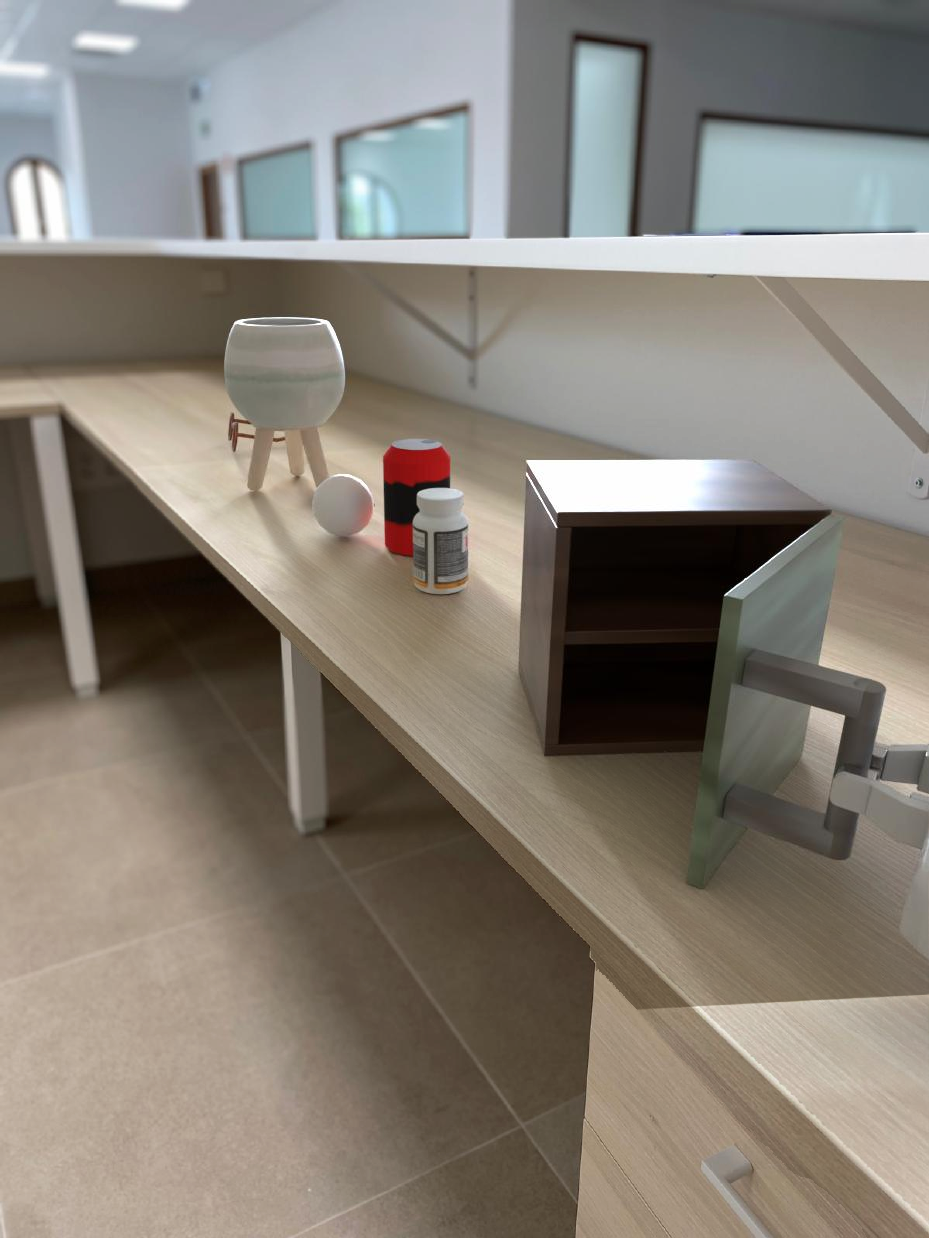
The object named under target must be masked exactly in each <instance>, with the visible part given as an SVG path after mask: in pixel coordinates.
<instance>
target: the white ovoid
mask: <svg viewBox="0 0 929 1238" xmlns="http://www.w3.org/2000/svg"><path fill="white" fill-rule="evenodd" d="M329 477H330V478H328V479H326V480H324V481H323V482H322V483H321V484H320V485H319V486H318V488H317V487H316V489H315V492H314V494H313V495H312V503H311V508H312V513H313V517H314V519H315V520H316V522H317V523H318V525H319V526H320V527H321V528H322V529H323V530H324V531H325V532H327V533H329V534H331V535H334V536H336V537H337V536H338V537H350V536H351V537H352V536H353V535H356V534H359V533H360V532H361V531H363V530H364V529H365V528H367V526H368V525H369V523H370V522H371V520H372V517H373V515H374V508H375V507H376V504H375V502H374V497H373V494H372V493H371V490H370V488H369V487H368V486H367V484H365V483H364V482H363V481H362V480H361V479H360V478H358V477H356V476H353V475H350V474H346V473H345V474H334V475H332V476H329Z"/></svg>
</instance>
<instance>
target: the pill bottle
mask: <svg viewBox="0 0 929 1238" xmlns="http://www.w3.org/2000/svg"><path fill="white" fill-rule="evenodd" d="M464 505H465V496H464V493H463V492H462V491H461V490H459V489H455V488H451V487H450V488H430V489H425V490H422V491H419V492H418V493H417V506H418V508H419V509H420V512H419V513H417V514H416V515H415V517H414V519H413V556H412V562H413V563H412V569H413V570H412V575H413V576H412V578H413V584H414V586H415V588H416V589H417V590H419V591H421V592H422V593H423V592H424V593H427V594H432V595H450V594H454V593H455V594H456V593H459V592H461V591H463V590H464V589H465V588H466V587H467V586H468V584H469V520H468V517H467V516H466V514H464V512H462V509H463V507H464Z"/></svg>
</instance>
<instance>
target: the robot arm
mask: <svg viewBox="0 0 929 1238" xmlns="http://www.w3.org/2000/svg"><path fill="white" fill-rule="evenodd" d="M832 779H833V778H832ZM885 782H891V783H898V784H899V783H900V784H908V785H916V790H917V791H918V792H915V791H912V792H911V794H910V796H908V795H906V794H904V793H902V792H900V791H899V790H896V789H895V788H893V787H891V786H889V785H888V784H885ZM831 784H832V787H831V786H830V789H831V791H830V790H829V794H830V796H829V795H828V799H829V798H830V801H831V802H832V804H834V805H835V806H838V807H841V808H844V809H847V810H850V811H853V812H856V813H859V815H862V816H864V818H865V819H867V820H868V821H869V822H871V823H872V824H873V825H875V826H876V827H877V828H879V829H880V830H881V831H883V832H884V833H885V834H887V836H890V837H891V838H892V840H894V841H896V842H897V843H900V844H904V845H906V846H910V847H912V848H916V849H918V850H920V853H919V856H918V859H917V862H916V865H915V869H914V871H913V876H912V878H911V882H910V885H909V889H908V892H907V895H906V899H905V902H904V906H903V910H902V915H901V918H900V922H899V926H898V927H899V928H898V929H899V932H900V935H901V936H902V937H903V939H904V940H905V941H906V942H907V943H909V944H910V945H911V946H912V947H913V948H914V949H915V950H916V951H917V952H918V953H919V954H920V955H922V956H923V957H924V958H926V959H927V960H929V743H927V744H925V743H923V744H917V743H915V744H890V745H888V744H885V743H882V742H878V741H875V745H874V749H873V754H872V759H871V763H870V768H869V769H867V768H858V767H857V766H855V765H852V764H849V763H848V764H847V763H846V764H843V765H841V766H840V768H839V769H838V771H837V773H836V775H835V777H834V779H833V782H832V781H831ZM919 792H920V793H919ZM922 793H924V794H922ZM925 794H927V795H925Z"/></svg>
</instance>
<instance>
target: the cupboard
mask: <svg viewBox="0 0 929 1238" xmlns="http://www.w3.org/2000/svg"><path fill="white" fill-rule="evenodd" d="M525 473H526V474H525V493H524V494H525V497H524V519H523V520H524V521H523V542H522V544H523V545H522V567H521V568H522V569H521V589H520V590H521V593H520V617H519V643H518V668H517V670H518V674H519V677H520V680H521V683H522V687H523V690H524V695H525V697H526V701H527V704H528V707H529V711H530V714H531V717H532V721H533V725H534V727H535V728H534V729H535V731H536V735H537V738H538V741H539V745H540V747H541V752H542V755H543V757H570V756H572V757H573V756H574V757H575V756H604V755H605V756H606V755H607V756H609V755H640V754H641V755H643V754H673V753H675V754H676V753H703V750H704V742H705V734H706V727H707V719H708V712H709V704H710V697H711V689H712V682H713V674H714V667H715V659H716V652H717V644H718V637H719V629H720V621H721V614H722V606H723V599H724V595H725V594H727V593H728V592H729V591H731V590H732V589H733V588H735V587H736V586H737V585H738V584H740V583H741V582H742V581H744V580H745V579H746V578H748V577H749V576H750V575H751V574H753V573H754V572H755V571H757V570H758V569H759V568H761V567H762V566H763V565H764V564H766V563H767V562H768V561H770V560H771V559H772V558H774V557H775V556H776V555H777V554H779V553H780V552H781V551H783V550H784V549H785V548H787V547H788V546H789V545H790V544H792V543H793V542H794V541H796V540H797V539H798V538H800V537H801V536H802V535H803V534H805V533H806V532H807V531H809V530H810V529H811V528H813V527H814V526H815V525H816V524H818V523H819V522H820V521H822V520H823V519H824V518H826V517H827V516H828V515H830V514H831V515H832V513H833V510H832V509H831V508H830V507H828V506H826V505H825V504H823V502H820V501H819V500H817V499H816V498H814V497H813V496H811V495H810V494H808V493H806V492H804V491H803V490H802V489H800V488H798V487H797V486H795V484H792V483H791V482H789V481H788V480H786V479H784V478H783V477H782V476H780V475H778V474H777V473H775V472H774V471H772V470H770V469H769V468H767V467H766V466H765V465H763V464H761V463H760V462H758V461H756V460H755V459H599V460H598V459H596V460H595V459H590V460H589V459H588V460H587V459H586V460H583V459H581V460H575V459H573V460H572V459H571V460H562V459H561V460H526V470H525Z"/></svg>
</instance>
